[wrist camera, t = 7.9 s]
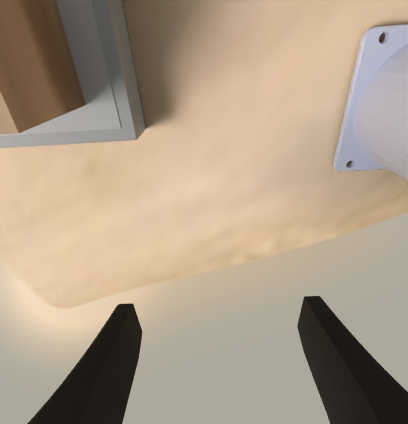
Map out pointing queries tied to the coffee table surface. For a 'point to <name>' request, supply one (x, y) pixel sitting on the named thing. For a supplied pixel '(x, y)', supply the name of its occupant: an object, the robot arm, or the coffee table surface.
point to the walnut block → (34, 66)
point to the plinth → (94, 80)
